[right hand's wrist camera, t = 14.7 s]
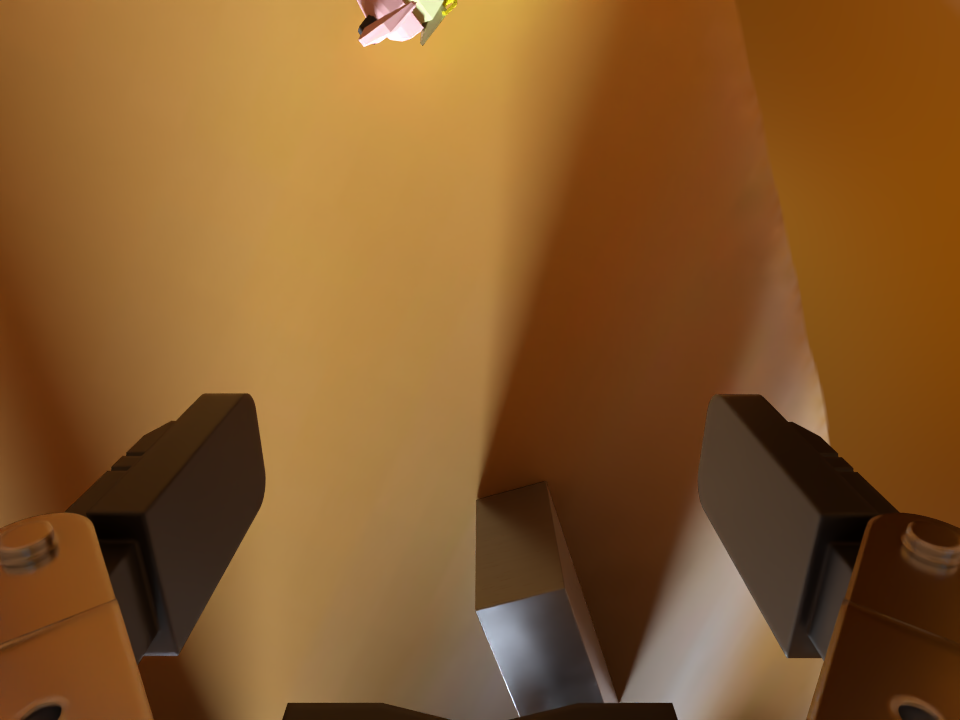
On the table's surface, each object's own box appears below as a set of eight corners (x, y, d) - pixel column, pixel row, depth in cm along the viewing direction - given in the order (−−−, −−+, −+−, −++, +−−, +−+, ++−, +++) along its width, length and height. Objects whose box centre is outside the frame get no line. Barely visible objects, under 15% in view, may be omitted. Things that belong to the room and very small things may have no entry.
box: (475, 499, 49) (474, 610, 38) (546, 480, 49) (565, 587, 38) (559, 718, 58) (577, 858, 47) (619, 704, 57) (652, 843, 47)
